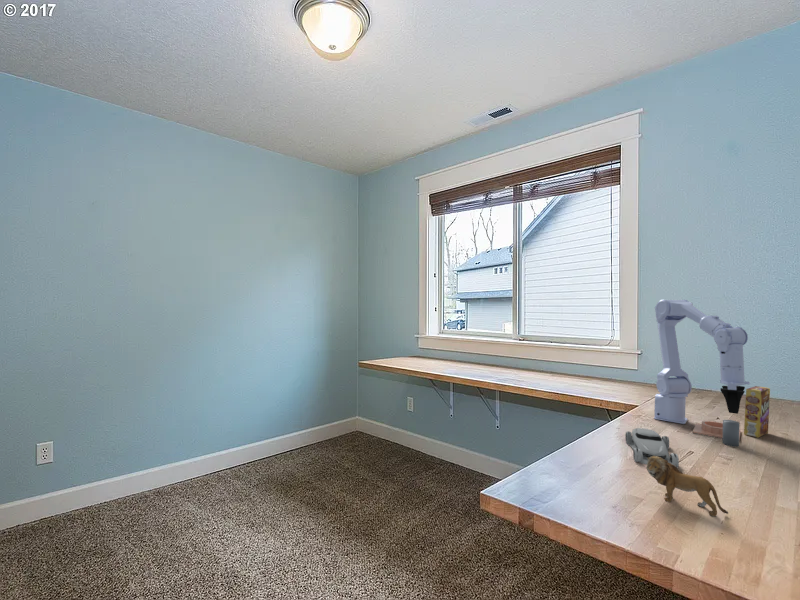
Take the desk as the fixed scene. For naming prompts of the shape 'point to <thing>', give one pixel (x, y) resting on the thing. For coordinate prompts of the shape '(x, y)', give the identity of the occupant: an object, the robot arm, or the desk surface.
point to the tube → (731, 433)
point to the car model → (649, 446)
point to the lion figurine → (682, 482)
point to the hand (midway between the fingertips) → (733, 411)
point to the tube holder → (710, 429)
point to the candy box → (757, 411)
